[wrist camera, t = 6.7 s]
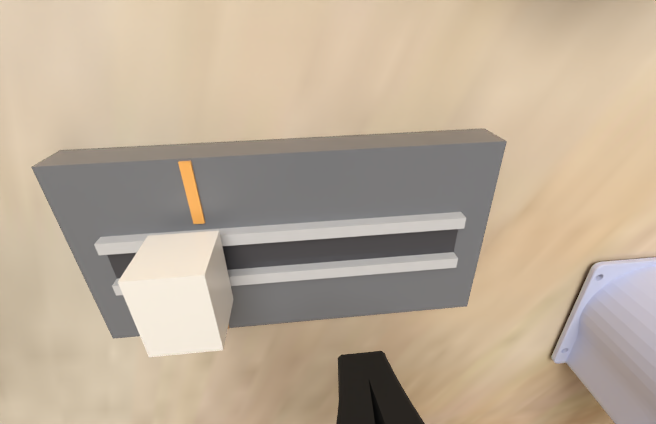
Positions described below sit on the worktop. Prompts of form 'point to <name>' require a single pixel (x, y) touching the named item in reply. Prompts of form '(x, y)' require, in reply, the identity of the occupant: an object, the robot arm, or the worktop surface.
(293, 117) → the worktop surface
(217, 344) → the fader tab
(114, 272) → the fader console
